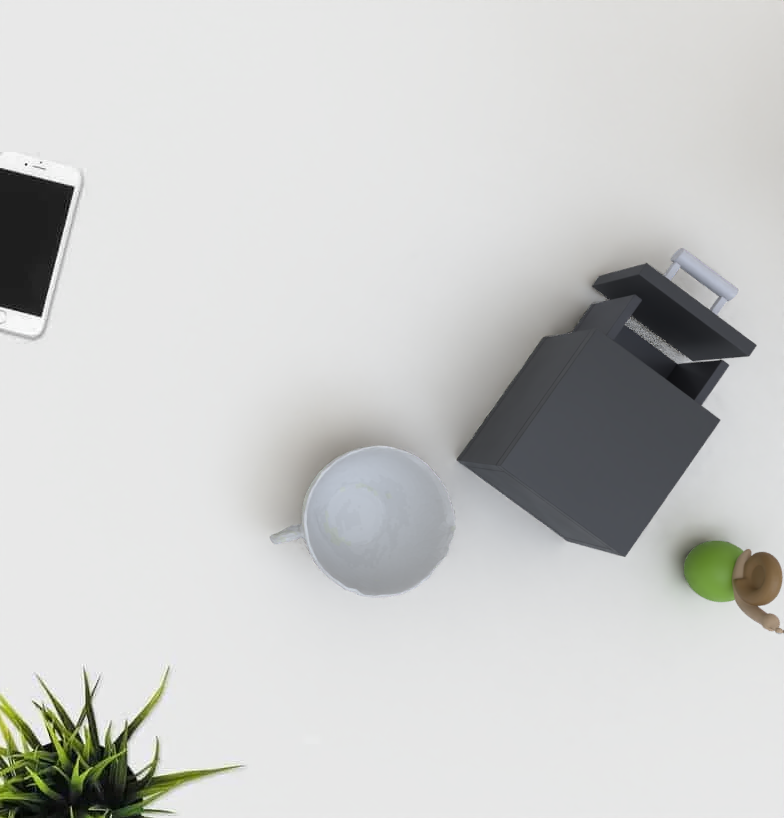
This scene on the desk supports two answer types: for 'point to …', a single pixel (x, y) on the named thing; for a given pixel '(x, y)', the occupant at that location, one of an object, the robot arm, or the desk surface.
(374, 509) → the teacup
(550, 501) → the air fryer
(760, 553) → the snail figurine
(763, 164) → the desk surface
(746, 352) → the fryer drawer
